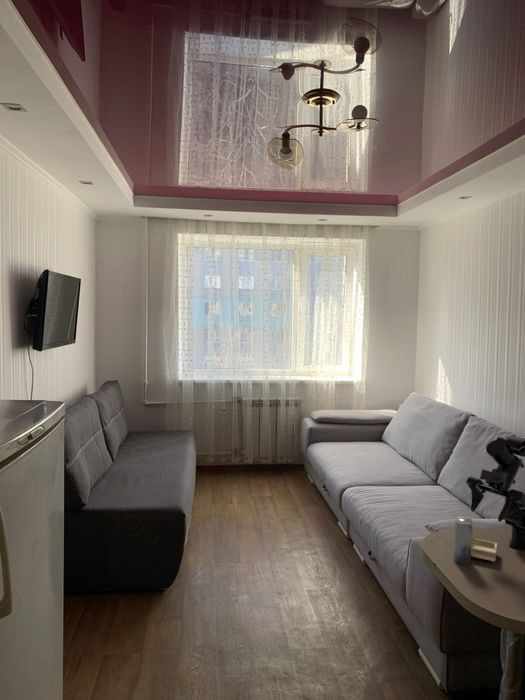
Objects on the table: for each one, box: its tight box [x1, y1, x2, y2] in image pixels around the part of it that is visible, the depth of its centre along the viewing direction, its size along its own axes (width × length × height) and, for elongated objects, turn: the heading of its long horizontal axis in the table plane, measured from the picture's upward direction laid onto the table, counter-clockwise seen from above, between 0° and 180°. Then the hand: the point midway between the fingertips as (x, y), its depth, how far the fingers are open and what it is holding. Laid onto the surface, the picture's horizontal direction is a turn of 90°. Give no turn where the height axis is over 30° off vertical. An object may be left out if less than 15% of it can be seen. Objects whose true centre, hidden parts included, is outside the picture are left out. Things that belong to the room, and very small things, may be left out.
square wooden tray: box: [471, 537, 498, 564], centre depth 163 cm, size 8×8×4 cm
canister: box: [453, 516, 473, 566], centre depth 158 cm, size 5×5×13 cm
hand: (485, 515), depth 160 cm, fingers open, 9 cm apart
